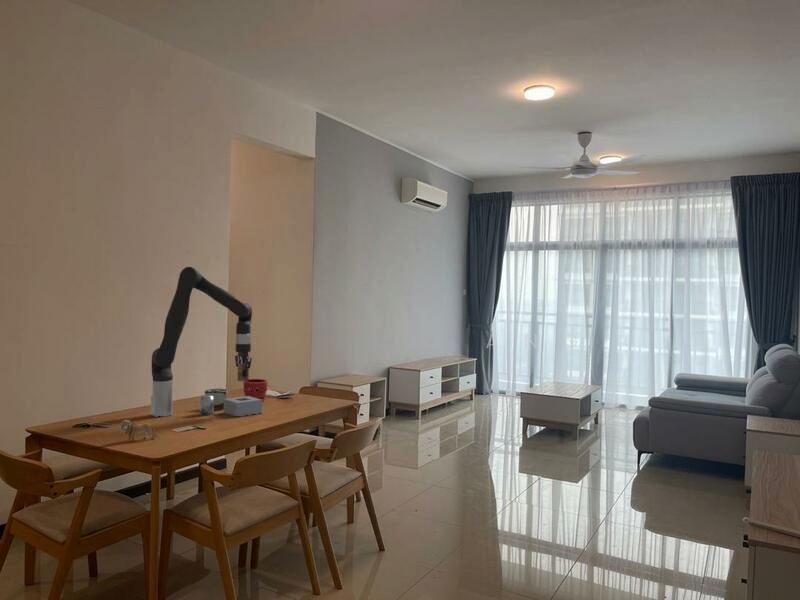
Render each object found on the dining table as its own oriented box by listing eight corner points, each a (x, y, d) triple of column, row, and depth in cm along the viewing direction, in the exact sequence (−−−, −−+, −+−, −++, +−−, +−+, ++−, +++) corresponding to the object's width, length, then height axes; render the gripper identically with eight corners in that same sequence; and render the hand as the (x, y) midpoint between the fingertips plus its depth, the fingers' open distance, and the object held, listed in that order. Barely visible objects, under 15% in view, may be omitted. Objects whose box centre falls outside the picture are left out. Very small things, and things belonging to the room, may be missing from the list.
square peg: (241, 381, 302) (241, 363, 302) (237, 380, 305) (237, 362, 305) (248, 380, 304) (248, 363, 304) (244, 379, 307) (244, 362, 307)
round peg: (203, 416, 297) (203, 397, 296) (197, 413, 301) (197, 396, 301) (215, 414, 301) (216, 396, 301) (210, 412, 306) (210, 394, 306)
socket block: (236, 417, 295) (236, 402, 295) (223, 412, 305) (223, 398, 305) (261, 413, 304) (262, 399, 304) (248, 409, 314) (248, 396, 314)
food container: (231, 407, 319) (231, 388, 319) (226, 409, 313) (227, 390, 313) (209, 406, 320) (209, 388, 320) (204, 409, 314) (204, 389, 314)
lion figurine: (122, 444, 240) (122, 421, 240) (118, 441, 244) (118, 419, 244) (159, 438, 250) (159, 417, 250) (155, 436, 254) (155, 415, 254)
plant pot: (240, 403, 331) (241, 381, 331) (246, 399, 344) (246, 378, 344) (264, 403, 332) (265, 382, 331) (269, 399, 345) (269, 378, 345)
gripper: (229, 342, 307) (229, 375, 307) (243, 344, 296) (242, 378, 297) (243, 341, 312) (243, 374, 312) (256, 343, 301) (256, 377, 302)
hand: (243, 376), depth 304 cm, fingers closed on square peg, 4 cm apart
